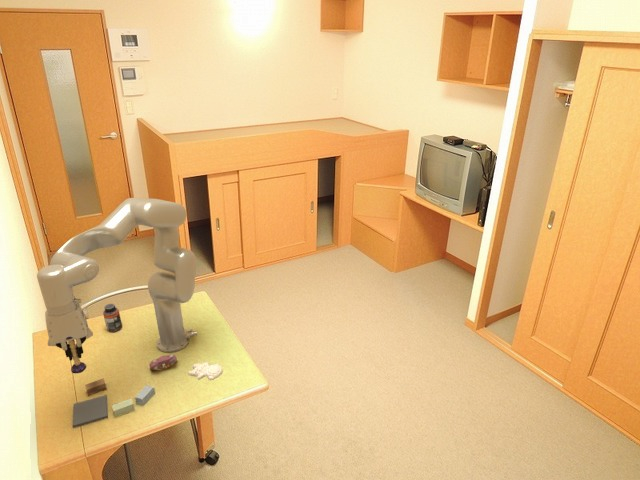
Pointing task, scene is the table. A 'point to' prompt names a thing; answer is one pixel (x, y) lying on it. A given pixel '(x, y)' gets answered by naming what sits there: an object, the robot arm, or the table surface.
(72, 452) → the table surface
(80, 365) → the toy lamp
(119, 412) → the brick
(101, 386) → the brick
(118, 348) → the table surface
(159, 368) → the video game controller
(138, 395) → the brick
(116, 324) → the supplement bottle
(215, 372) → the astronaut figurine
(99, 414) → the pad
